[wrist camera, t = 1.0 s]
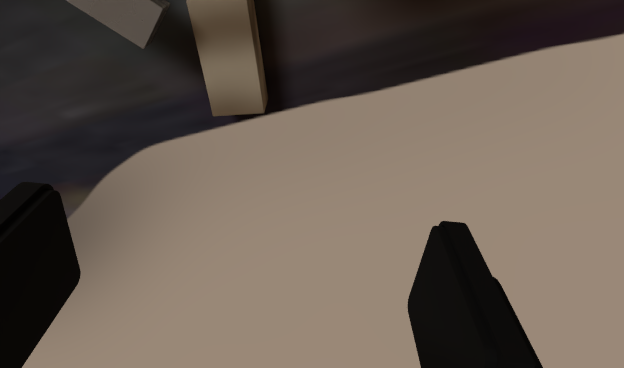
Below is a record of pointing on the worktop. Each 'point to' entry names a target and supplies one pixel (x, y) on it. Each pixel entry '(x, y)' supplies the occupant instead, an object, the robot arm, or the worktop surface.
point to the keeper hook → (127, 16)
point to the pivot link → (230, 55)
